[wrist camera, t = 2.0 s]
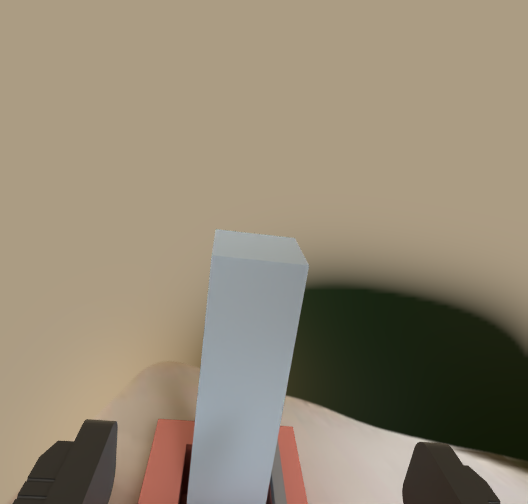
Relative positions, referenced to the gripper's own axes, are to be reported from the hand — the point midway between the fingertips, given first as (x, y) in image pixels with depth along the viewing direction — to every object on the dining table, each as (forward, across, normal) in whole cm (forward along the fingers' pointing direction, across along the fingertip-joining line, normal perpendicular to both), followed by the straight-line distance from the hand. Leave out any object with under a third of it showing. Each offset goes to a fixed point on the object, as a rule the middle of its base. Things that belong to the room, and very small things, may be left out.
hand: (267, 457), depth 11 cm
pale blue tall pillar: (+12, 0, +18) cm, 21 cm away
